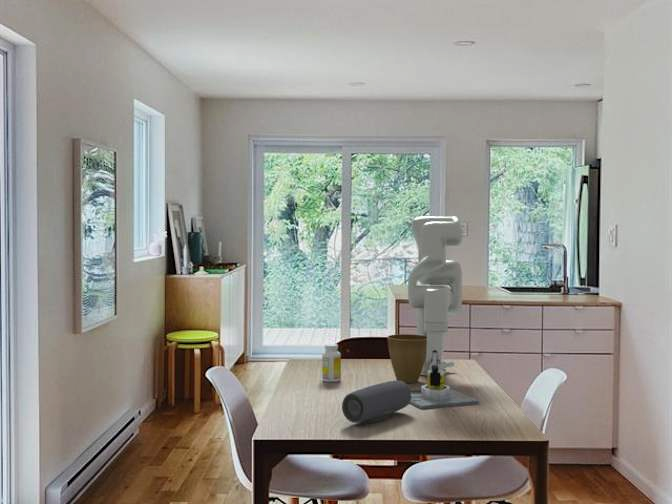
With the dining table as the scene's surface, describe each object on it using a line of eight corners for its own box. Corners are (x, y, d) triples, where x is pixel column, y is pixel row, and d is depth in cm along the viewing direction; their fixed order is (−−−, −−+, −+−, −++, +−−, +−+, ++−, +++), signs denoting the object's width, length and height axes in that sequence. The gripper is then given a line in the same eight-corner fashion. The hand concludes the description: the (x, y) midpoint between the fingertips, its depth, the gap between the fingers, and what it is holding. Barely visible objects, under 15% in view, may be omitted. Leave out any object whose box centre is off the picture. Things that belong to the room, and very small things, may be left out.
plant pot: (415, 387, 268) (415, 341, 268) (379, 382, 277) (379, 337, 277) (436, 380, 280) (437, 336, 279) (401, 375, 289) (401, 332, 288)
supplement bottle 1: (341, 378, 283) (341, 343, 283) (340, 382, 277) (340, 346, 276) (323, 378, 284) (323, 343, 284) (321, 382, 277) (321, 346, 277)
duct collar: (448, 390, 263) (448, 378, 263) (479, 403, 244) (479, 390, 244) (394, 395, 256) (394, 383, 256) (421, 409, 237) (421, 396, 237)
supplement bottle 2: (434, 396, 246) (434, 365, 246) (423, 393, 251) (423, 363, 251) (447, 394, 249) (447, 364, 249) (436, 391, 254) (436, 361, 253)
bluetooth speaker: (387, 409, 237) (387, 376, 237) (412, 414, 232) (412, 380, 231) (340, 424, 220) (339, 389, 220) (366, 430, 214) (366, 393, 214)
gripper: (425, 323, 258) (425, 377, 259) (422, 330, 241) (422, 388, 242) (448, 323, 257) (448, 378, 258) (446, 331, 240) (446, 389, 241)
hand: (435, 382), depth 250 cm, fingers open, 5 cm apart
